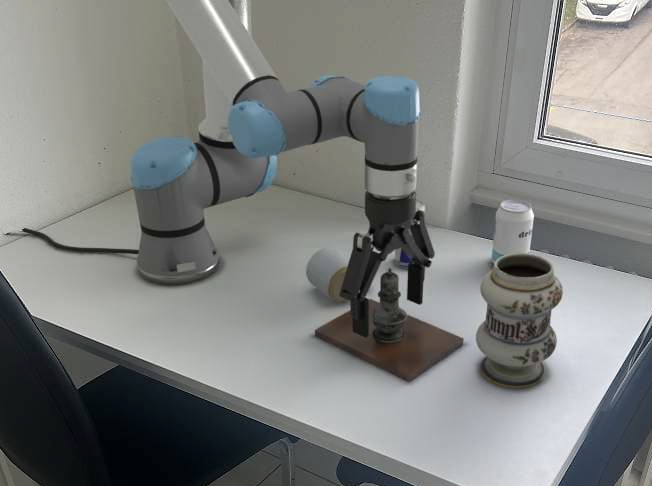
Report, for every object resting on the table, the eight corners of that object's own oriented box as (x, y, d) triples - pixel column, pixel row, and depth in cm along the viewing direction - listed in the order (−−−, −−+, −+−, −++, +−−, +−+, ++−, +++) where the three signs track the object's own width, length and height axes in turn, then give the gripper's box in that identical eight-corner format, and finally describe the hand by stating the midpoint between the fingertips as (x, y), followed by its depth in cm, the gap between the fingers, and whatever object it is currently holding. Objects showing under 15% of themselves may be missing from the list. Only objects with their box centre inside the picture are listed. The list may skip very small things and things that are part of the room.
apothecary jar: (503, 340, 131) (514, 239, 121) (567, 369, 124) (584, 264, 114) (457, 370, 124) (465, 265, 114) (522, 402, 117) (536, 294, 107)
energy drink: (390, 266, 153) (391, 207, 146) (400, 255, 157) (401, 196, 150) (417, 271, 151) (419, 211, 144) (426, 259, 155) (429, 200, 148)
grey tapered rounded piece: (369, 325, 133) (369, 260, 126) (404, 324, 133) (406, 258, 126) (372, 344, 128) (372, 277, 121) (408, 343, 128) (411, 275, 121)
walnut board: (314, 336, 132) (314, 330, 132) (370, 304, 141) (370, 298, 140) (409, 381, 122) (409, 375, 121) (463, 344, 130) (463, 338, 129)
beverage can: (516, 276, 149) (523, 216, 143) (484, 266, 153) (489, 207, 146) (533, 263, 154) (541, 204, 147) (502, 253, 157) (508, 195, 150)
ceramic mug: (329, 309, 139) (329, 269, 135) (305, 290, 145) (304, 251, 141) (379, 293, 144) (380, 254, 140) (354, 276, 150) (355, 238, 146)
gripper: (352, 224, 107) (354, 357, 119) (461, 173, 122) (453, 296, 134) (312, 209, 111) (317, 339, 123) (422, 162, 126) (418, 282, 138)
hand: (388, 317), depth 129 cm, fingers open, 13 cm apart
